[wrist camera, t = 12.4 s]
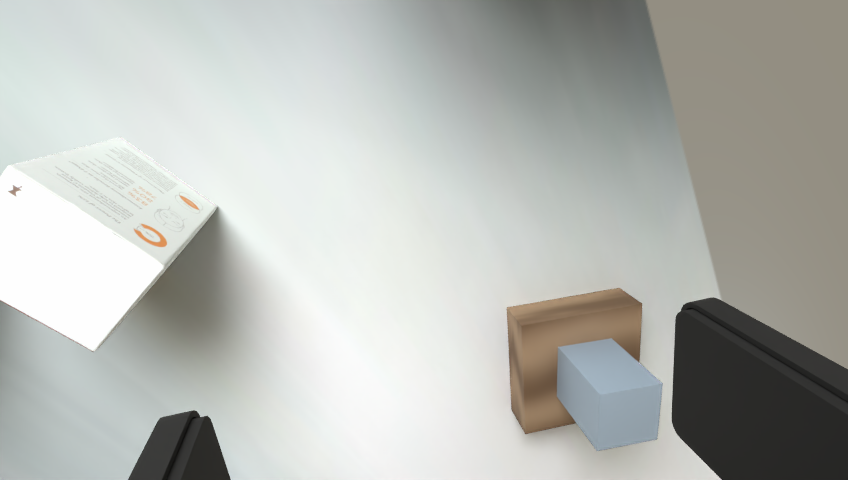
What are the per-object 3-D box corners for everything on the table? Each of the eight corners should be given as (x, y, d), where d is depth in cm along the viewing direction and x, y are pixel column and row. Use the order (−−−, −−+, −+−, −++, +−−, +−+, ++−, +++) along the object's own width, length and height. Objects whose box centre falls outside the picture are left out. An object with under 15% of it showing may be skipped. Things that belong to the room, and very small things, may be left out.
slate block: (557, 346, 42) (600, 394, 35) (611, 338, 43) (662, 383, 36) (556, 396, 44) (597, 450, 37) (608, 387, 44) (657, 439, 38)
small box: (67, 202, 35) (-73, 264, 23) (121, 134, 34) (5, 160, 22) (170, 268, 38) (93, 356, 25) (221, 206, 37) (167, 265, 25)
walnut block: (505, 305, 44) (521, 325, 41) (616, 286, 46) (642, 303, 42) (510, 406, 48) (525, 434, 44) (613, 385, 50) (636, 409, 46)
